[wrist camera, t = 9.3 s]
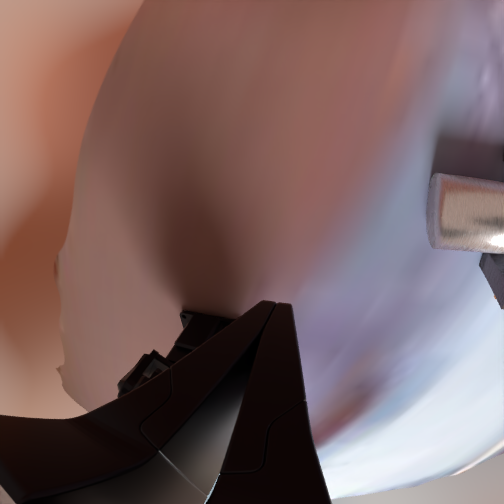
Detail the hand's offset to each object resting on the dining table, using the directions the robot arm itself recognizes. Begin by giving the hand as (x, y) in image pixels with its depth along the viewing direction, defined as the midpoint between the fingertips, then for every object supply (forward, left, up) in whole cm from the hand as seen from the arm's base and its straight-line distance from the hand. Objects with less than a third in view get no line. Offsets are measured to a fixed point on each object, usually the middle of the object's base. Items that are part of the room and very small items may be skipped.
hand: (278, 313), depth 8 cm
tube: (0, -16, -12) cm, 20 cm away
